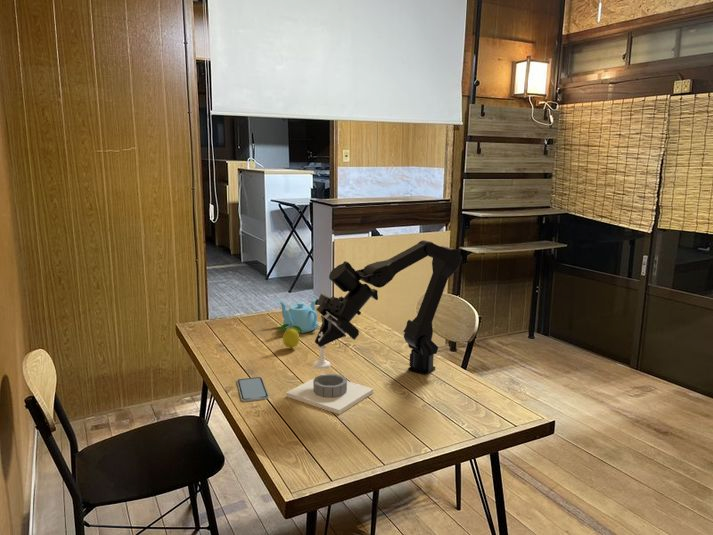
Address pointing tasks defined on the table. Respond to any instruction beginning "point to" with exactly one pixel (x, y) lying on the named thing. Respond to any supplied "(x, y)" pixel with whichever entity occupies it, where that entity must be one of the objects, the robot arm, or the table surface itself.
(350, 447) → the table surface
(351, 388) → the collar board
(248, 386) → the smartphone
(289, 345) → the lemon
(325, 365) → the chess piece
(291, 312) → the teapot
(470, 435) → the table surface
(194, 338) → the table surface
